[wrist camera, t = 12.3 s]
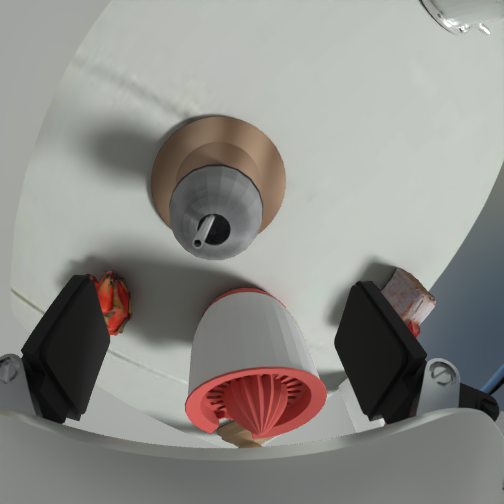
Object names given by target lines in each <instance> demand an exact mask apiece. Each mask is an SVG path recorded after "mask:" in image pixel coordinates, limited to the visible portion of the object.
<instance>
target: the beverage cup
mask: <svg viewBox="0 0 504 504" xmlns="http://www.w3.org/2000/svg"><path fill="white" fill-rule="evenodd" d="M169 216H170V226H171V228H172V231H173V233H174V236H175V238H176V239H177V241H178V242H179V243H180V244H181V245H182V246H183V248H184V249H185V250H187V251H188V252H190V253H191V254H193V255H195V256H196V257H199V258H203V259H207V260H224V259H228V258H231V257H234V256H236V255H238V254H239V253H241V252H242V251H244V250H245V249H247V248H248V246H249V245H250V244H251V243H252V241H253V240H254V239H255V238H256V236H257V233H258V231H259V228H260V226H261V223H262V219H263V201H262V198H261V194H260V191H259V189H258V188H257V186H256V185H255V183H254V182H253V181H252V179H251V178H250V177H249V176H247V175H246V174H245V173H243V172H242V171H240V170H239V169H237V168H234V167H231V166H228V165H225V164H208V165H205V166H202V167H199V168H196V169H193V170H192V171H190V172H189V173H188V174H187V175H185V176H184V177H183V178H181V179H180V181H179V182H178V184H177V185H176V187H175V188H174V190H173V192H172V196H171V199H170V203H169Z"/></svg>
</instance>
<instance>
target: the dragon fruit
mask: <svg viewBox="0 0 504 504" xmlns="http://www.w3.org/2000/svg"><path fill="white" fill-rule="evenodd" d="M105 272H106V273H105V274H104V275H103V277H102V279H101V281H100V283H99V282H98V281H97V280H96V278H95V276H94V277H93V276H92V275H90V274H86V275H87V276H89V277H90V279H91V280H93V281H94V283H95V286H96V290H97V294H98V298H99V301H100V305H101V309H102V312H103V316H104V319H105V322H106V325H107V329H108V332H109V335H115V336H116V335H117V334H118V333H122V332H123V329H124V326H125V324H126V323H127V321H129V320H130V319H131V318H132V308H131V302H130V300H131V298H130V292H128V290H127V288H126V286H125V282H124V279H123V278H122V279H120V278H119V277H118V276H117V273H116V272H115V271H113V270H112V271H105Z"/></svg>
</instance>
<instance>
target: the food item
mask: <svg viewBox="0 0 504 504" xmlns="http://www.w3.org/2000/svg"><path fill="white" fill-rule="evenodd" d="M381 293H382V294H383V295H384V296H385V298H386V299H387V300H388V302H389V303H390V304H391V305H392V307H393V308H394V309H395V311H396V312H397V313H398V315H399V316H400V317H401V319H402V320H403V321H404V323H405V324H406V325H407V327H408V328H409V329H410V331H411V332H412V334H413V335H414V336H415V338H416V337H417V336H418V335H419V334H420V332H419V331H420V328H419V325H420V323H421V322H422V321H423V320H424V319H425V318H426V317H427V316H428V314H429V313H430V312H431V310H432V309H433V308H434V307H435V303H436V301H435V297H434V296H433V295H431V294H430V293H429V292H428V291H427V290H426V289H425V287H423V285H422V284H421V283H420V282H419V280H418V279H416V278H415V277H414V276H413V275H412V274H410V273H407V272H406V271H404V270H402V269H399V268H397V269H396V271H395V273H394V274H393V277H392V279H391V280H389V282H388V283H387V285H386V286H385V288H384V289H383V290H381ZM433 297H434V298H433Z"/></svg>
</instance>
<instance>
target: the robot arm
mask: <svg viewBox="0 0 504 504" xmlns="http://www.w3.org/2000/svg"><path fill="white" fill-rule="evenodd" d="M422 2H423V3H424V5H425V7H426V8H427V10H428V11H429V12H430V14H431V15H432V16H433V17H434V18H435V20H436V21H437V22H438V23H439V24H440V25H442V26H443V27H444V28H445V29H447V30H448V31H450V32H452V33H454V34H457V35H462V34H466V33H467V32H468V31H469V29H470V27H472V26H473V27H474V28H478V29H479V30H480V31H481V32H482V33H483V34H484V35H488V34H489V33H490V31H489V29H488V28H487V27H486V26H485V25H484V24H482V23H483V22H490V21H499V20H504V0H422ZM109 344H110V335H109V332H108V329H107V325H106V322H105V319H104V316H103V312H102V309H101V305H100V301H99V298H98V294H97V290H96V286H95V283H94V281H93V280H91V279H90V277H89V276H87V275H74V276H73V277H72V278H71V279H70V280H69V282H68V283H67V284H66V286H65V287H64V288H63V289H62V291H61V292H60V293H59V295H58V296H57V297H56V299H55V300H54V301H53V303H52V304H51V306H50V307H49V308H48V310H47V311H46V313H45V314H44V316H43V317H42V318H41V320H40V321H39V323H38V324H37V326H36V327H35V329H34V330H33V332H32V333H31V335H30V336H29V338H28V340H27V341H26V343H25V344H24V346H23V348H22V349H21V351H22V353H23V357H22V358H20V357H19V356H18V355H15V354H6V355H3V356H1V357H0V504H504V412H503V411H501V412H500V413H499V407H498V404H497V402H496V400H495V399H494V398H493V397H492V396H491V395H489V394H487V393H484V392H482V391H479V390H477V389H474V388H472V387H469V386H467V385H465V384H462V383H460V376H459V373H458V370H457V369H456V368H455V366H454V365H453V364H451V363H450V362H449V361H447V360H445V359H441V358H434V359H432V360H430V361H429V362H428V363H427V362H426V361H425V358H426V357H427V353H426V352H425V351H424V349H423V348H422V346H421V345H420V343H419V342H418V341H417V339H416V338H415V336H414V335H413V334H412V332H411V331H410V329H409V328H408V327H407V325H406V324H405V323H404V321H403V320H402V319H401V317H400V316H399V315H398V313H397V312H396V311H395V309H394V308H393V307H392V305H391V304H390V303H389V302H388V300H387V299H386V298H385V296H384V295H383V294H382V293H381V291H380V290H379V289H378V288H377V286H376V285H375V284H374V283H373V282H372V281H359V282H357V283H356V284H355V285H354V286H352V288H351V290H350V294H349V297H348V300H347V303H346V307H345V310H344V313H343V316H342V319H341V322H340V325H339V328H338V331H337V334H336V336H335V340H334V345H335V348H336V351H337V353H338V355H339V358H340V360H341V362H342V365H343V367H344V369H345V372H346V374H347V376H348V379H349V381H350V384H351V386H352V388H353V391H354V393H355V396H356V398H357V400H358V403H359V405H360V408H361V410H362V412H363V414H364V415H367V417H368V419H369V421H370V422H371V421H375V420H378V419H382V418H383V419H384V421H385V424H384V426H382V427H378V428H374V429H370V430H366V431H362V432H358V433H354V434H350V435H345V436H341V437H336V438H331V439H325V440H319V441H313V442H307V443H299V444H291V445H282V446H271V447H257V448H222V449H221V448H191V447H177V446H166V445H157V444H149V443H142V442H136V441H129V440H124V439H119V438H113V437H109V436H104V435H100V434H96V433H91V432H88V431H84V430H80V429H76V428H72V427H69V426H66V424H65V420H66V417H67V418H70V419H73V420H77V421H79V420H80V417H81V414H84V413H85V412H86V409H87V406H88V403H89V400H90V396H91V393H92V390H93V388H94V385H95V382H96V379H97V376H98V373H99V371H100V368H101V365H102V362H103V360H104V357H105V355H106V352H107V349H108V347H109Z"/></svg>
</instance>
